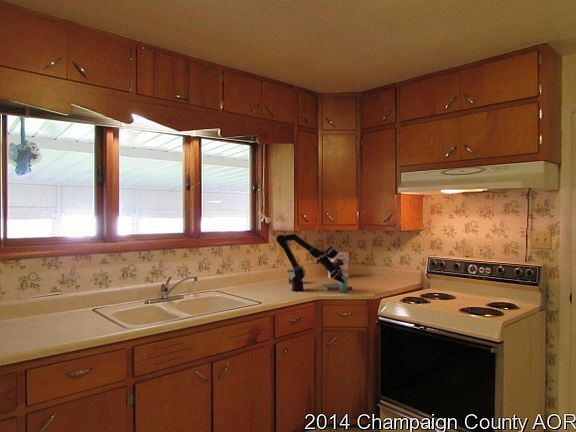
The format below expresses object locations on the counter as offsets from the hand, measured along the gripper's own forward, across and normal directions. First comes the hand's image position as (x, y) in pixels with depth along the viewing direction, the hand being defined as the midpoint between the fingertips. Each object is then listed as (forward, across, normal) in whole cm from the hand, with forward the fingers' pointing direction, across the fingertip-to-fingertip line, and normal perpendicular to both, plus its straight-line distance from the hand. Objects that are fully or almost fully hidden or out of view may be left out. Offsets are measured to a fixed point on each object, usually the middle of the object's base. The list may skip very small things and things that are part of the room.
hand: (345, 281), depth 254 cm
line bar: (+2, +7, +8) cm, 10 cm away
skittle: (+4, 0, +6) cm, 7 cm away
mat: (-1, +18, +11) cm, 22 cm away
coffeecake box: (-1, +56, +12) cm, 57 cm away
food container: (-21, +26, +31) cm, 46 cm away
